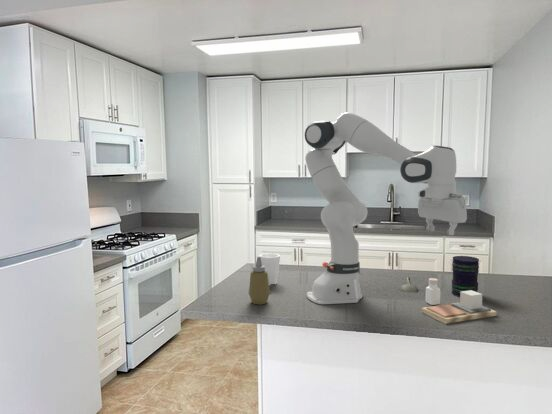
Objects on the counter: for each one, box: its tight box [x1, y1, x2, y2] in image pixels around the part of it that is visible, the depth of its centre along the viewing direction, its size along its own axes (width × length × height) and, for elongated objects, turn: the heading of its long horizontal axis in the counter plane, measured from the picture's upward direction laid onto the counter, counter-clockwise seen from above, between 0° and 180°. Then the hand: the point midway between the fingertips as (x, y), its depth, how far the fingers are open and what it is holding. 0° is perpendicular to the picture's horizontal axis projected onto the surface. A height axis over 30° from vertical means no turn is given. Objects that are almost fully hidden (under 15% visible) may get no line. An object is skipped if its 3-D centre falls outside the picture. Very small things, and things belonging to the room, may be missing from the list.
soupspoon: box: [401, 275, 418, 293], centre depth 178 cm, size 22×3×7 cm
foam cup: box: [258, 252, 281, 285], centre depth 182 cm, size 10×9×13 cm
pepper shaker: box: [425, 277, 441, 306], centre depth 153 cm, size 4×4×10 cm
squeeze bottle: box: [248, 256, 271, 305], centre depth 155 cm, size 8×8×18 cm
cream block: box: [459, 290, 483, 309], centre depth 143 cm, size 5×5×5 cm
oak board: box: [420, 301, 497, 325], centre depth 142 cm, size 22×12×2 cm, turn 109°
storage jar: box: [451, 255, 480, 298], centre depth 164 cm, size 10×10×15 cm
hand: (440, 232), depth 139 cm, fingers open, 8 cm apart
